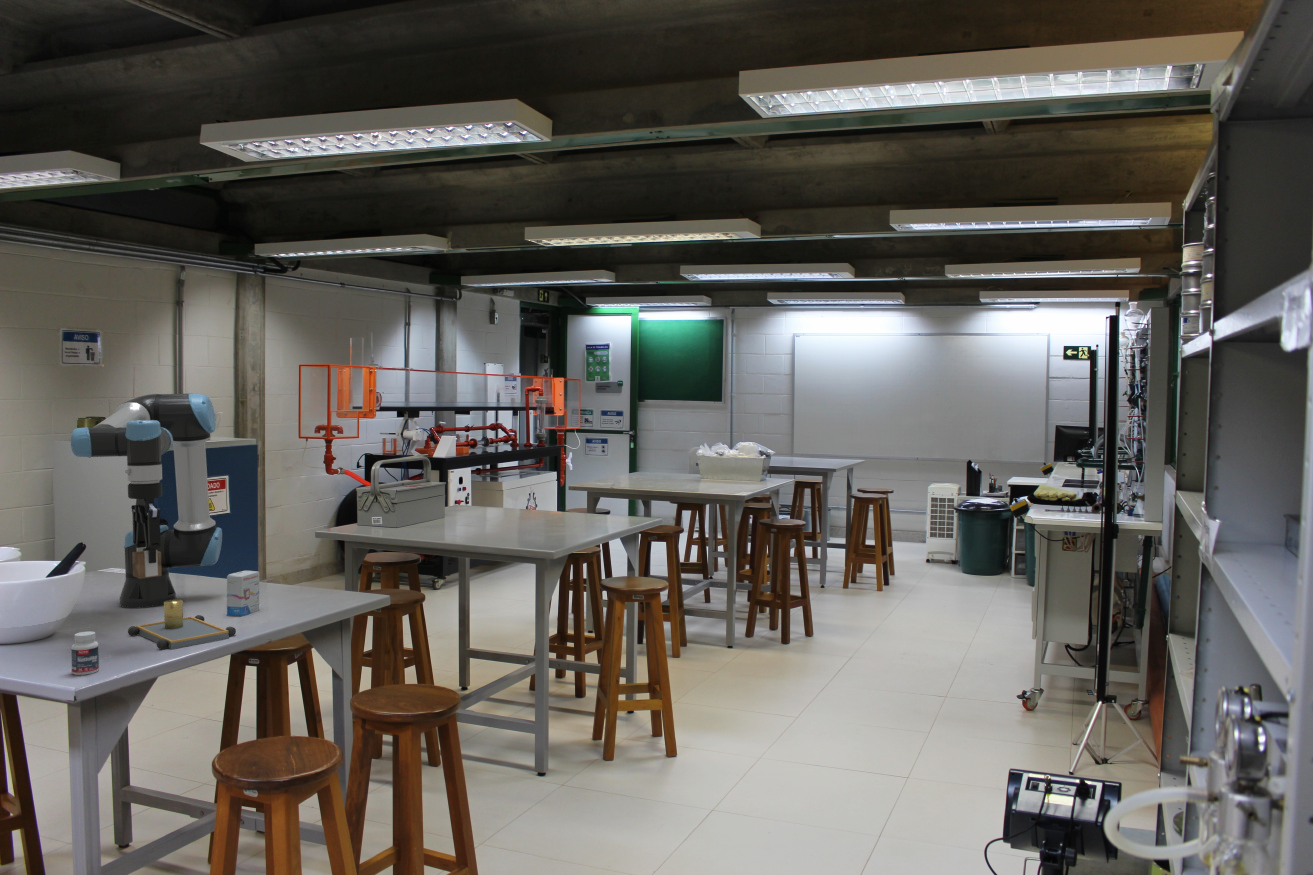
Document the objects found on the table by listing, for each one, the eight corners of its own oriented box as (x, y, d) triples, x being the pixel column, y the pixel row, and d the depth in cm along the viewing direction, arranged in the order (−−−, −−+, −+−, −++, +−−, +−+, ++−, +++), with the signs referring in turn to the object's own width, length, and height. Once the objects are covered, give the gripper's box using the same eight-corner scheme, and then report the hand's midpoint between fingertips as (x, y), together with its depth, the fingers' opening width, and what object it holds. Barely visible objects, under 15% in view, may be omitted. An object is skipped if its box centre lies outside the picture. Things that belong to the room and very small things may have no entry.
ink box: (241, 616, 261) (241, 575, 260) (226, 615, 262) (225, 575, 261) (260, 610, 269) (259, 570, 269) (245, 609, 270) (244, 569, 270)
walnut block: (132, 575, 228) (132, 552, 228) (154, 573, 232) (154, 549, 232) (139, 578, 225) (139, 554, 225) (161, 575, 229) (160, 552, 228)
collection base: (125, 635, 240) (125, 626, 240) (200, 621, 255) (200, 613, 254) (160, 651, 224) (160, 641, 224) (238, 636, 239) (238, 627, 238)
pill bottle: (75, 676, 204) (74, 637, 203) (68, 672, 207) (67, 633, 207) (102, 671, 208) (101, 633, 207) (94, 667, 211) (93, 629, 211)
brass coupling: (162, 627, 242) (161, 601, 242) (179, 624, 246) (178, 598, 245) (168, 630, 239) (167, 603, 239) (185, 626, 243) (185, 600, 242)
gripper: (116, 480, 231) (119, 571, 232) (140, 485, 219) (143, 581, 220) (148, 478, 236) (151, 567, 237) (174, 483, 224) (176, 577, 225)
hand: (147, 574), depth 228 cm, fingers closed on walnut block, 5 cm apart
